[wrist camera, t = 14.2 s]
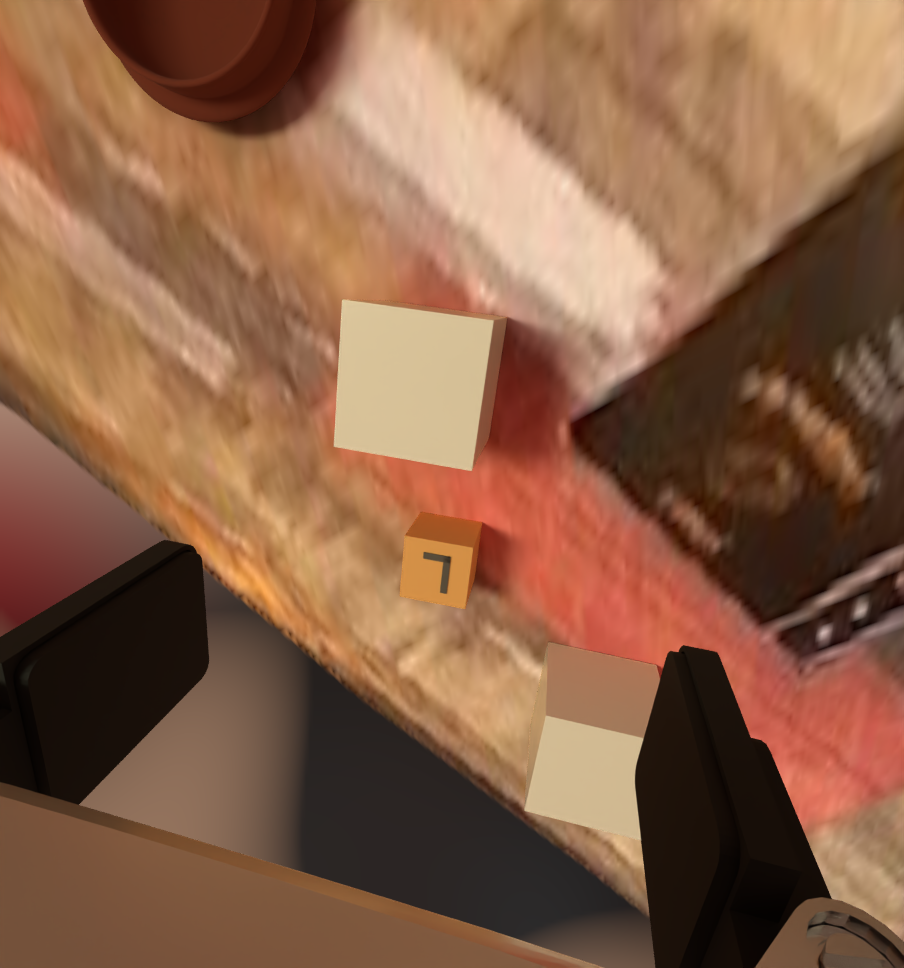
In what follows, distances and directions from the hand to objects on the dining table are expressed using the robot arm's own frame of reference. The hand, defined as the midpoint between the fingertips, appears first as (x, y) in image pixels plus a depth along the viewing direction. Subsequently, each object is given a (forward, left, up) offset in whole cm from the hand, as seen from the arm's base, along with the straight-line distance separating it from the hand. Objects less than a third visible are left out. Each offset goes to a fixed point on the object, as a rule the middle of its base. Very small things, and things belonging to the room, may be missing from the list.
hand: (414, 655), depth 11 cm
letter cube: (+3, +9, -23) cm, 25 cm away
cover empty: (-8, +18, -23) cm, 30 cm away
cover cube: (+5, -2, -23) cm, 24 cm away
